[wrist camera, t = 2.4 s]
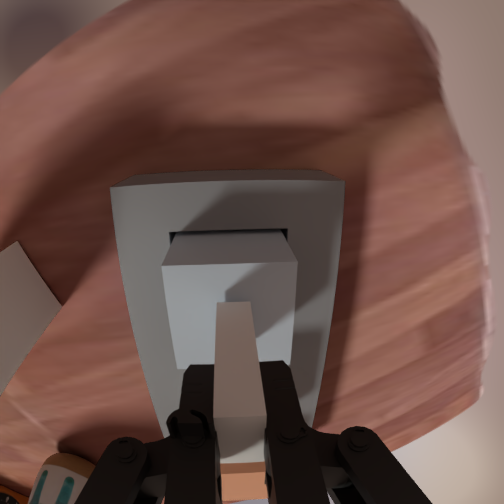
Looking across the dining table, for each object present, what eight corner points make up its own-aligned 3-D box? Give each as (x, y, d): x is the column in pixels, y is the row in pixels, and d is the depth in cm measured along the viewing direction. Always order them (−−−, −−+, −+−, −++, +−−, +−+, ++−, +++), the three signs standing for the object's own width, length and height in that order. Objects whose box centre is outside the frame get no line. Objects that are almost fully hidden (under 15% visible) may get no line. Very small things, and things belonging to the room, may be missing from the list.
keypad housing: (182, 445, 32) (180, 479, 27) (134, 174, 21) (110, 187, 16) (293, 440, 32) (300, 474, 28) (320, 170, 22) (345, 181, 17)
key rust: (209, 454, 28) (209, 500, 22) (203, 421, 26) (201, 473, 20) (267, 452, 28) (274, 497, 23) (269, 419, 26) (278, 470, 21)
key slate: (187, 312, 21) (177, 368, 16) (178, 227, 19) (161, 265, 14) (275, 309, 22) (290, 364, 16) (277, 224, 19) (297, 261, 14)
